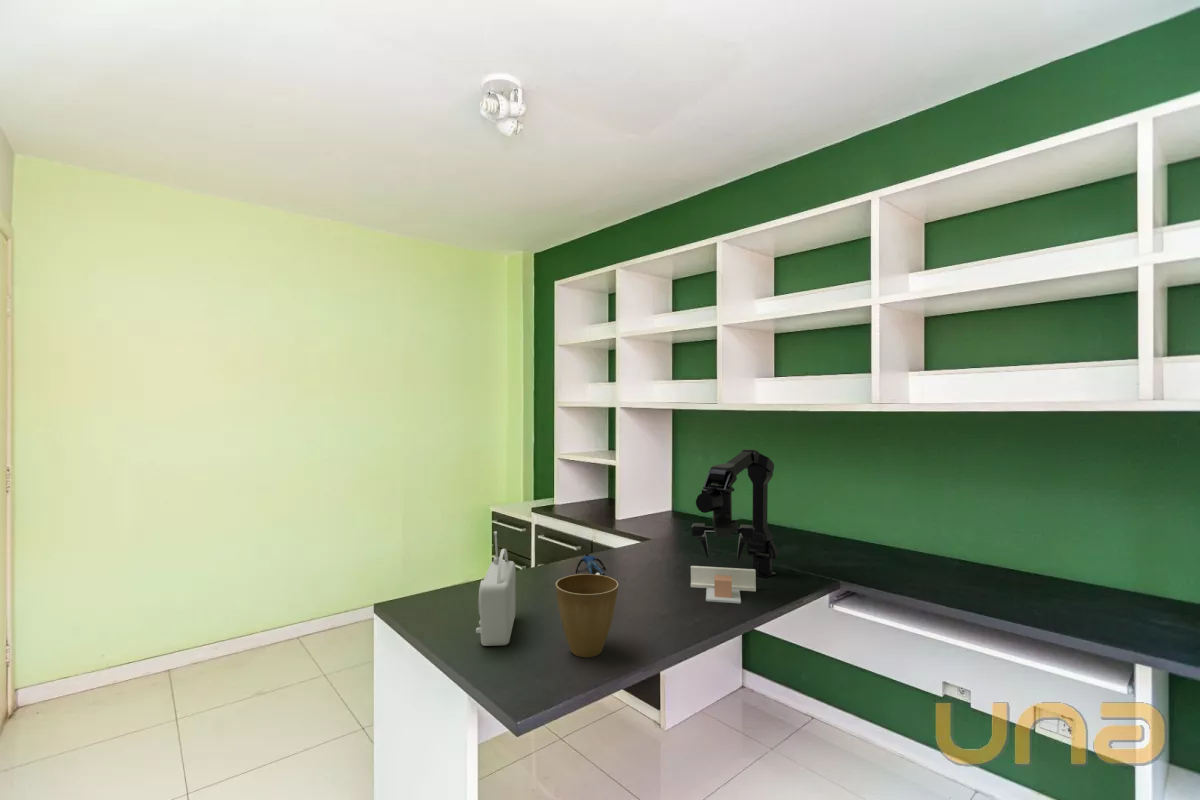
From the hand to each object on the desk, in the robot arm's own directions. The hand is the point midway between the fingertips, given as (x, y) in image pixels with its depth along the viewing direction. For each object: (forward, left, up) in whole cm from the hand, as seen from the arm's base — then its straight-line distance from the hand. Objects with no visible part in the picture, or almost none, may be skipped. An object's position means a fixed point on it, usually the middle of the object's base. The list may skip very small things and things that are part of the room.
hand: (722, 558), depth 167 cm
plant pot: (+55, +10, -11) cm, 57 cm away
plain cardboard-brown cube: (+2, +2, -10) cm, 11 cm away
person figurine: (+23, -39, -11) cm, 47 cm away
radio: (+69, -12, -11) cm, 71 cm away
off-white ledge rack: (-4, -4, -11) cm, 12 cm away
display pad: (+2, +2, -11) cm, 11 cm away
